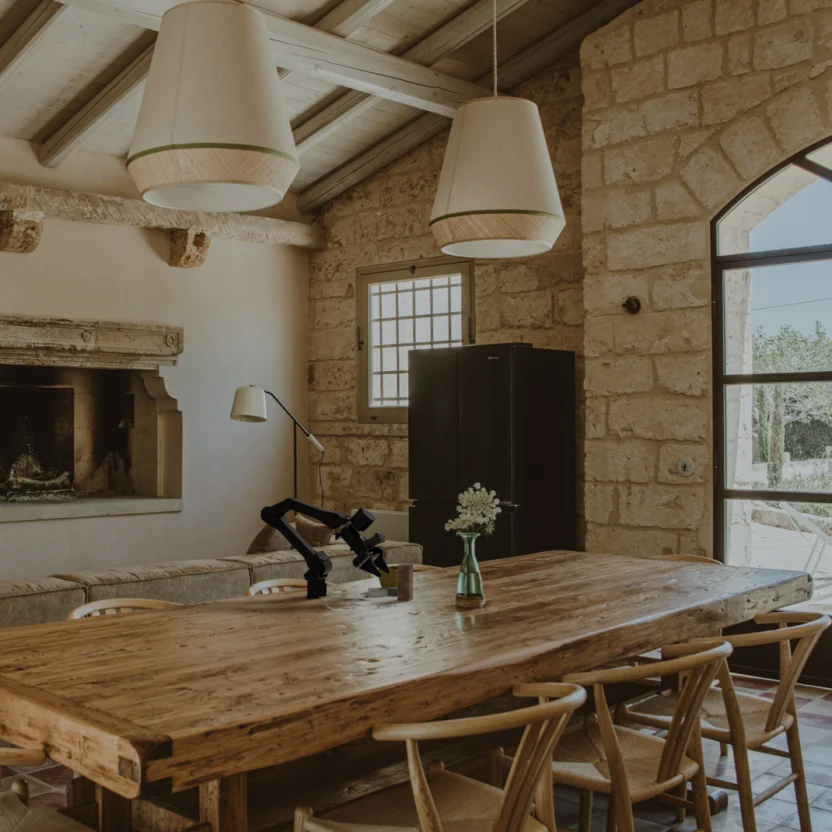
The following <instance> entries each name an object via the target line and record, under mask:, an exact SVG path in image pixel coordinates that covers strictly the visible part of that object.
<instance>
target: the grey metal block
mask: <svg viewBox="0 0 832 832" xmlns="http://www.w3.org/2000/svg"><path fill="white" fill-rule="evenodd" d="M367 591H368V592H367V593H368V595H369V596H370V597H384V596H388V589H387V588H385V587H368V589H367ZM368 595H367V596H368Z"/></svg>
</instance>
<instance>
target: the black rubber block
mask: <svg viewBox="0 0 832 832" xmlns="http://www.w3.org/2000/svg"><path fill="white" fill-rule="evenodd" d="M387 589H388V596H397V587H388V588H387Z"/></svg>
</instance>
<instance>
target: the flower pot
mask: <svg viewBox="0 0 832 832" xmlns="http://www.w3.org/2000/svg"><path fill="white" fill-rule="evenodd" d="M387 566H388V565H387ZM388 568H389V570H390V573H389V574H387V573H386V572H384V571H382V570H381V569H379V568H378V570H379V571H380V573H381V575H382V576H381V577H378V581H379V583H380V584H379V585H380V588H382V587H385V588H388V587H397V565H390V566H388Z"/></svg>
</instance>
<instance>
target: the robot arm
mask: <svg viewBox="0 0 832 832" xmlns="http://www.w3.org/2000/svg"><path fill="white" fill-rule="evenodd" d="M290 511H294V512H297V513H299V514H301V515H304V516H307V517H309V518H312V519H315V520H318V521H319V522H320V523H322V524H323V525H324V526H325V527H327V528H329V529H331V530H337V529H338V530H339V529H341V530H340V531H336V532H334V533H335V537H334V540H335V541H338V540H340V539H342V540H343V541H344V543H345V544H346V545H347V546H348V547H349V549H348V550H349V552H353V553H354V554H355V555H356V556H355V557H354V558H353V559H352V565H353V566H354V568H355V569H359V570H362V571H364V572H366V573H369V574H371V575H373V576H375V577H377V578H379V577H381V576H382V575H381V573H380V571H379V570H378V568H379V569H381V570H382V571H384V572H386V573H387V574H389V573H390V570H389V568H388V564H387V561H386V559H385V554H386V551H385V550H386V549H385V548H384V547H383V545H380V544H384V543H385V542H386V540H385V537H386V536H385V534H383V532H382V533H381V532H379V531H377V532H376V533H374V534H373V536H372V537H369V538H368V537H367V536H363V535H362V534H361V533H360V532H363V533H365V531H367V530H368V529H369V528H370V527H371V526H372V525H373V524H374V522H375V521H376V520H377V519H376V517H375V515H374V514H373V513H372V512H370V511H369V510H368V509H366V508H364V507H363V506H361V507H359V508H358V509H357V511H356V512H355V513H354V514H353V515H347V513H345V512H343V511H341V510H333V509H326V508H325V509H324V508H323V507H319V506H318V505H317V506H316V505H314V504H311V503H309V502H306V501H303V500H300V499H298V498H296V497H294V496H291V497H287V498H285V499H284V500H281V501H280V502H278V503H275V504H273V505H267V506H264V507H263V508H262V509H261V511H260V519H261V520H262V522H264V523H265V524H267V525H268V526H269V527H271V528H272V529H273V528H274V529H275V530H276V531H278V532H279V533H280V534H281V536H282V537H284V539H286V541H287V542H288V543H289V544H290V545H291V546H292V548H294V549H295V551H297V552H298V553H299V554H300V556H302V558H303V559H304V560H305V561H304V562H305V564H306V567H307V568H308V569H307V571H306V572H304V573H303V579H304V580H305V581H306V598H307V599H318V598H317V597H320V598H325V597H326V596H327V595H328V594H327V593H328V589H327V588H328V585H327V582H326V579H327V578H328V575H329V573H330V572H331V571H332V570H333V569H332V568H333V563H332V561H331V557H329V556H328V555H327V554H326V552H325V551H324V550H319V551H317V550H316V549H314V547H312V546H311V544H310V543H308V541H306V538H305V539H304V537H303V536H302V535H301V534H300V533H299V532H298V531H297V530H296V529H295V527H293V525H292V524H290V523H289V521H288V518H287V515H286V514H288V513H289V512H290ZM348 524H349V525H348ZM347 525H348V526H347Z"/></svg>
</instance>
